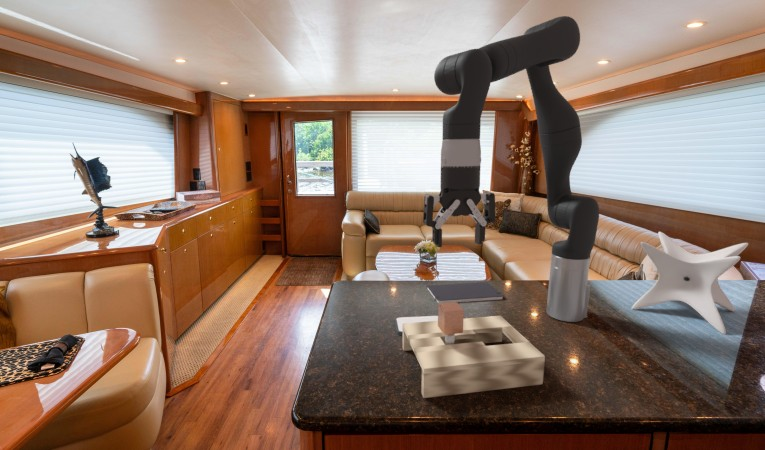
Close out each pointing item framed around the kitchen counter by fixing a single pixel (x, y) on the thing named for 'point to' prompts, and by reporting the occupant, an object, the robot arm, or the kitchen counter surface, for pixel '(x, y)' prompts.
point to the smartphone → (411, 321)
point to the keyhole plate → (473, 357)
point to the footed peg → (450, 320)
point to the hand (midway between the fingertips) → (458, 244)
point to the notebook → (464, 292)
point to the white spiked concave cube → (690, 278)
